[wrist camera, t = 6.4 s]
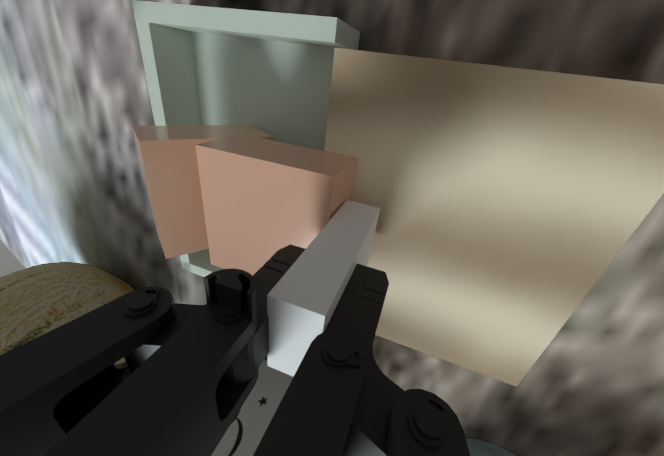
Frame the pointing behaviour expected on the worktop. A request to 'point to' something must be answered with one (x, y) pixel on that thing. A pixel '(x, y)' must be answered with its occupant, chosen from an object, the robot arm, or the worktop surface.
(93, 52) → the worktop surface
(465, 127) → the board
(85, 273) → the cantaloupe
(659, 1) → the worktop surface
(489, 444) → the grey-blue hollow tapered cylinder
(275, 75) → the tray
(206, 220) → the tile
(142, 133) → the tile
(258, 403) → the cereal box
